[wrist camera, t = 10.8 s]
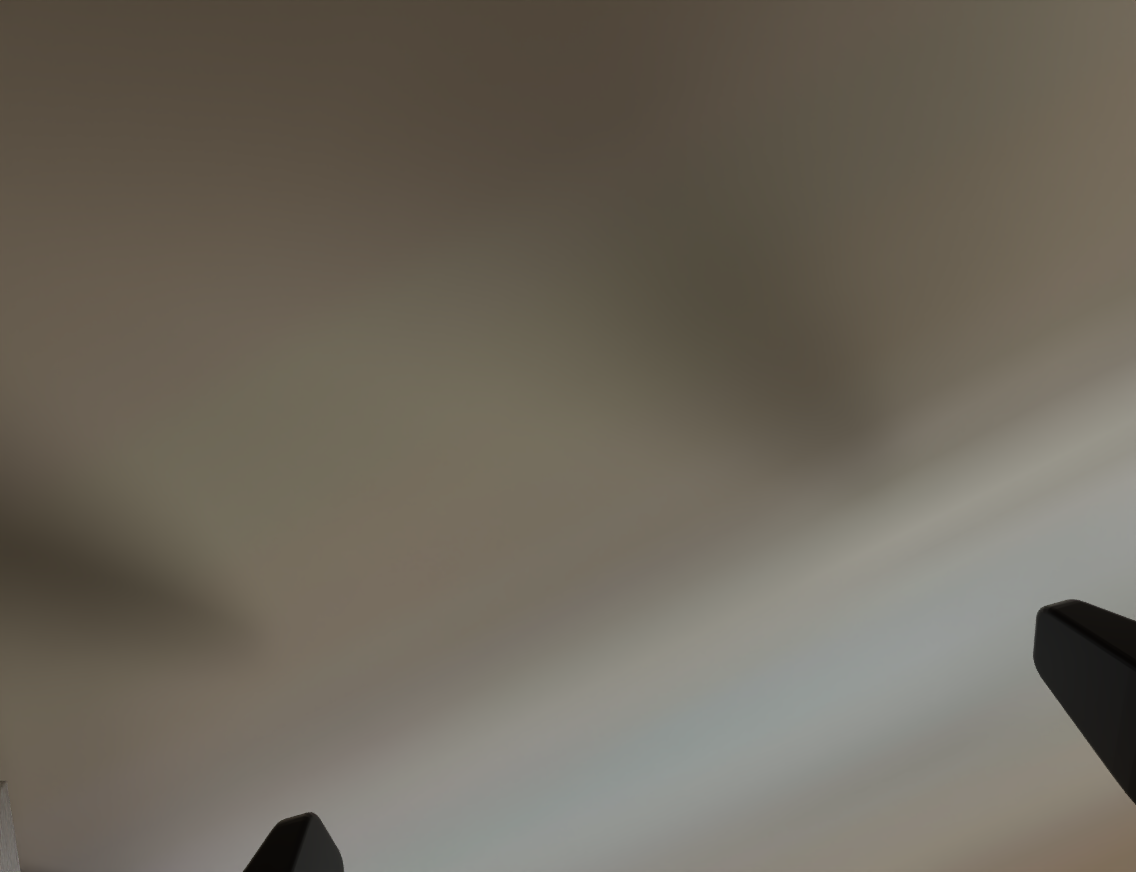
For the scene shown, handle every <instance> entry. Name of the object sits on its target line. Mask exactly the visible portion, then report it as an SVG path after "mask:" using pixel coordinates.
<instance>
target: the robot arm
mask: <svg viewBox="0 0 1136 872" xmlns="http://www.w3.org/2000/svg"><path fill="white" fill-rule="evenodd" d="M1033 658H1034V663H1035V666H1036V669H1037V671H1038V673H1039V675H1040V676H1041V678H1042V679H1043V681H1044V682H1045V683H1046V685H1047V686H1048V688H1049V689H1050V690H1051V692H1052V693H1053V694H1054V696H1055V697H1056V699H1057V700H1058V701H1059V703H1060V704H1061V705H1062V707H1063V708H1064V710H1065V711H1066V712H1067V714H1068V715H1069V716H1070V718H1071V719H1072V721H1073V722H1074V723H1075V725H1076V726H1077V727H1078V729H1079V730H1080V732H1081V733H1082V734H1083V736H1084V737H1085V739H1086V740H1087V741H1088V743H1089V744H1090V745H1091V747H1092V748H1093V750H1094V751H1095V752H1096V754H1097V755H1098V756H1099V758H1100V759H1101V761H1102V762H1103V763H1104V765H1105V766H1106V767H1107V769H1108V770H1109V772H1110V773H1111V774H1112V776H1113V777H1114V778H1115V780H1116V781H1117V782H1118V783H1119V785H1120V786H1121V787H1122V789H1123V790H1124V791H1125V793H1126V794H1127V795H1128V796H1129V797H1130V799H1131V800H1132V801H1133V802H1134V803H1135V805H1136V621H1135V620H1132V619H1129V618H1127V617H1124V616H1121V615H1118V614H1116V613H1113V612H1110V611H1108V610H1105V609H1102V608H1100V607H1097V606H1094V605H1092V604H1089V603H1086V602H1083V601H1080V600H1075V599H1070V600H1065V601H1061V602H1057V603H1054V604H1050V605H1047V606H1044V607H1042V608H1041V609H1040V610H1039V611H1038V613H1037V616H1036V627H1035V638H1034V650H1033ZM243 872H344V867H343V861H342V857H341V854H340V852H339V850H338V848H337V846H336V845H335V843H334V841H333V840H332V838H331V836H330V835H329V833H328V831H327V830H326V828H325V826H324V825H323V823H322V821H321V820H320V818H319V817H318V816H317V815H316V814H314V813H312V812H308V813H304V814H301V815H297V816H294V817H290V818H286V819H284V820H282V821H280V822H279V823H278V824H277V825H276V826H275V827H274V828H273V829H272V830H271V832H270V833H269V835H268V836H267V838H266V839H265V841H264V842H263V843H262V845H261V846H260V848H259V849H258V851H257V852H256V854H255V855H254V857H253V858H252V859H251V861H250V862H249V864H248V865H247V867H246V868H245V870H244V871H243Z"/></svg>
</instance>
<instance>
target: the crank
mask: <svg viewBox="0 0 1136 872" xmlns="http://www.w3.org/2000/svg"><path fill="white" fill-rule="evenodd" d="M0 872H21V871H20V865H19V858H18V852H17V845H16V839H15V832H14V826H13V819H12V812H11V806H10V799H9V793H8V786H7V781H0Z"/></svg>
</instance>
